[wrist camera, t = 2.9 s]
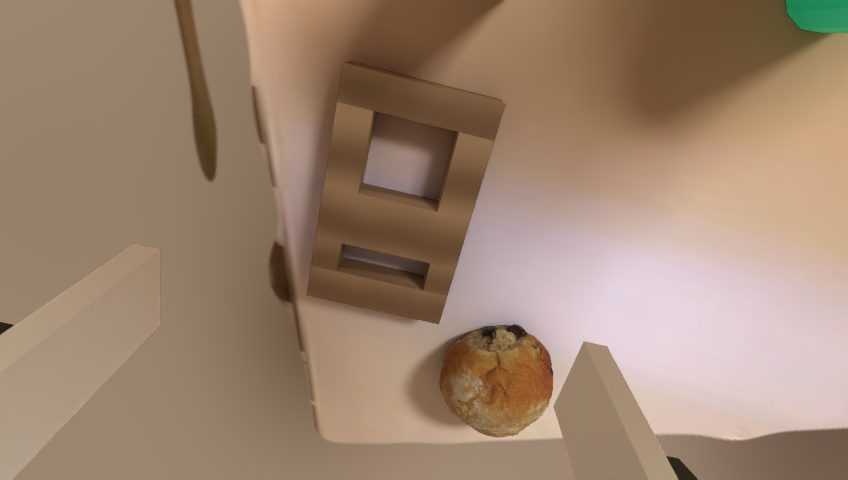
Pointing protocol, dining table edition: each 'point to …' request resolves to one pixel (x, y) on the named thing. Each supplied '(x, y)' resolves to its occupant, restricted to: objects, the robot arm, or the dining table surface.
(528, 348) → the bread roll
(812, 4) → the candle
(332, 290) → the socket block
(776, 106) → the dining table surface
